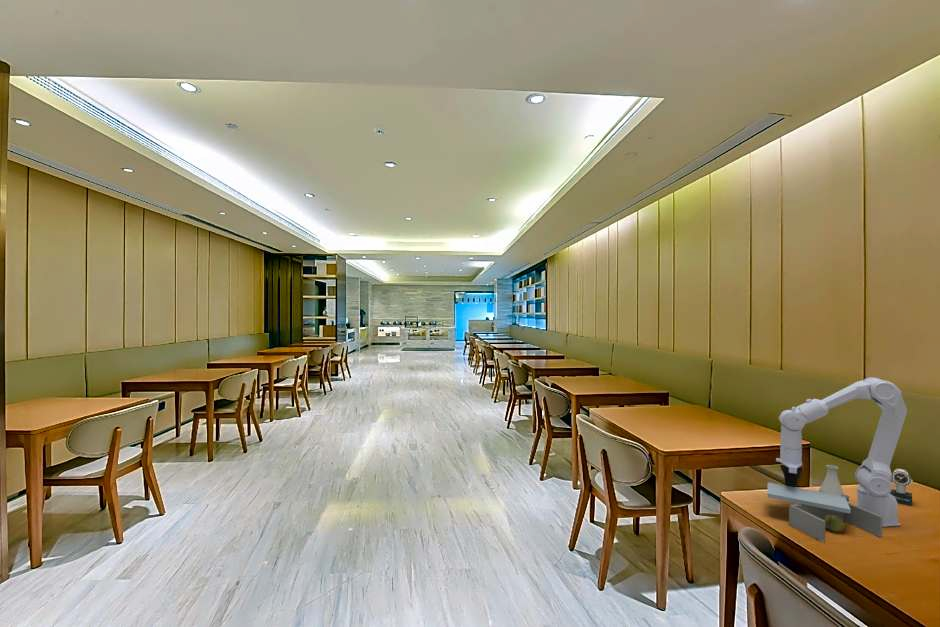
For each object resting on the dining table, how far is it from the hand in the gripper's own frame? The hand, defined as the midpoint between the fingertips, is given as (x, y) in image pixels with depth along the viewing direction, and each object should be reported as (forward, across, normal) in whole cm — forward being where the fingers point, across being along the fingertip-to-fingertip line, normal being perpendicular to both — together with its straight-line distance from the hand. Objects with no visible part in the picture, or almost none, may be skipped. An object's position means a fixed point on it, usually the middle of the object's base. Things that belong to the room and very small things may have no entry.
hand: (790, 488), depth 147 cm
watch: (+6, -28, +33) cm, 44 cm away
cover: (0, +6, +4) cm, 7 cm away
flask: (+7, -23, +14) cm, 27 cm away
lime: (+7, +12, +10) cm, 17 cm away
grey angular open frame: (+6, +12, +10) cm, 17 cm away
